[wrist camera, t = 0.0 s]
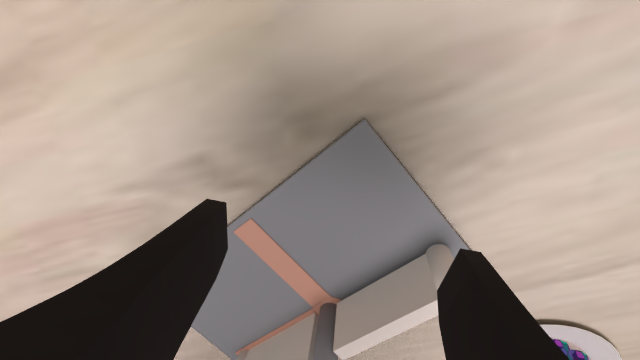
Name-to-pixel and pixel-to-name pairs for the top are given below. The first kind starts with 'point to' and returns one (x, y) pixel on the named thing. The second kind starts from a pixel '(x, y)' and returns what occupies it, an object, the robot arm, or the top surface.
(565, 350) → the pudding
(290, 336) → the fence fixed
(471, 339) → the robot arm
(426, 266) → the fence gate
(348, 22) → the top surface
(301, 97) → the top surface
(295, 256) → the card
